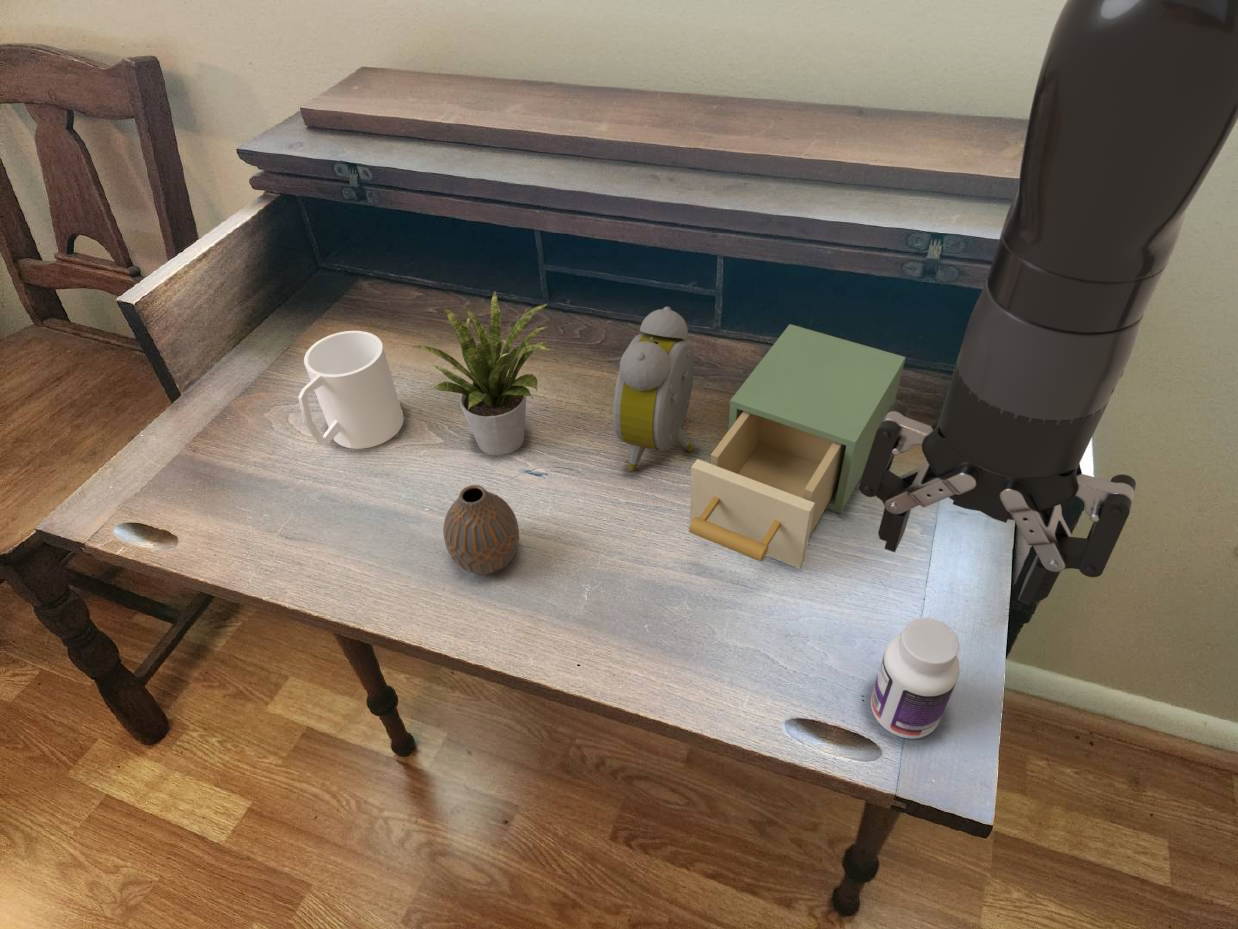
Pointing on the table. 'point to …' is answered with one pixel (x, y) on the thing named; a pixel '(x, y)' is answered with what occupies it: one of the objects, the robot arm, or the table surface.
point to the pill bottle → (916, 678)
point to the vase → (481, 531)
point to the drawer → (764, 489)
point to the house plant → (492, 380)
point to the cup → (351, 390)
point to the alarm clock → (654, 386)
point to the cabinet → (824, 394)
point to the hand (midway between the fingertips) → (958, 567)
